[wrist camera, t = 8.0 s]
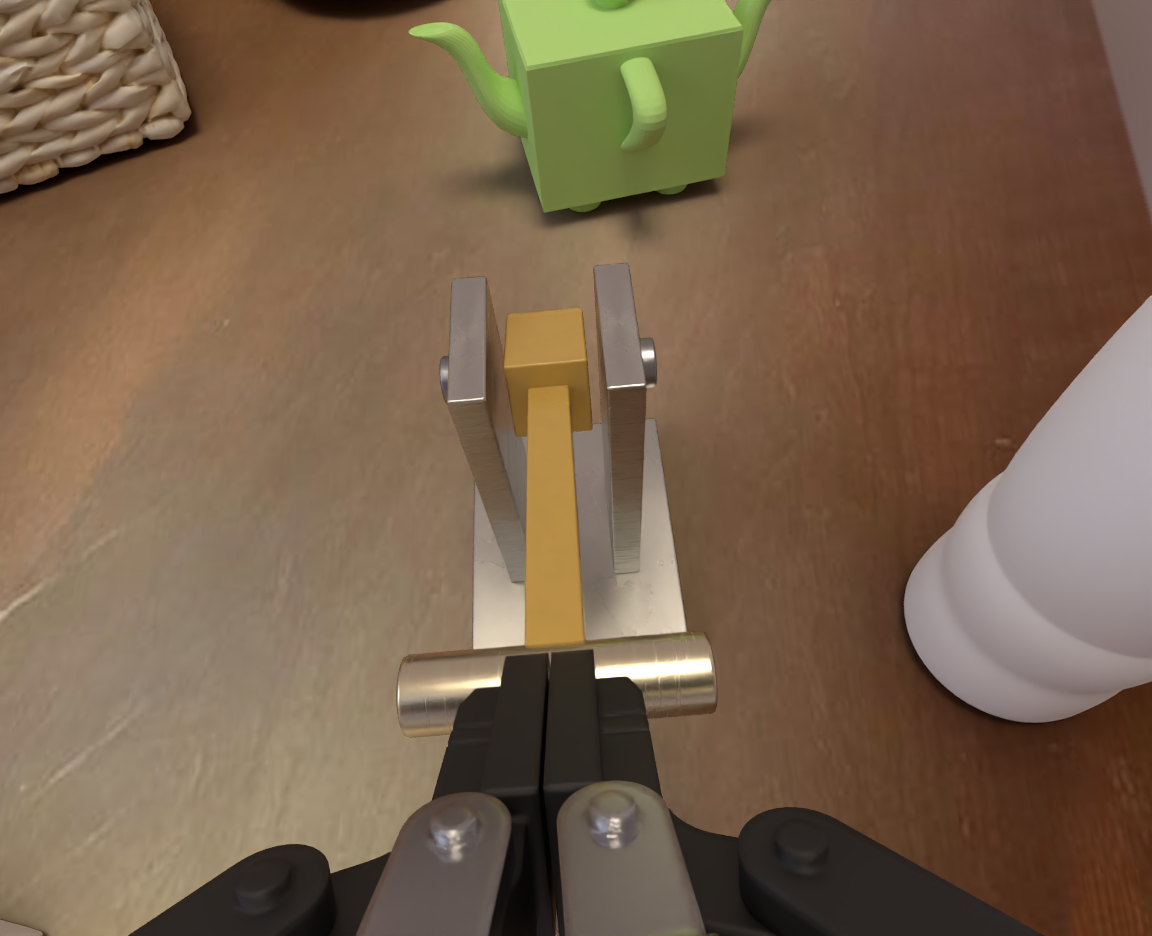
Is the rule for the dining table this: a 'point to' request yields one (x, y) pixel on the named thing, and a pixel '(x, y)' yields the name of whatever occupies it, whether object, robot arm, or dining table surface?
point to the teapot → (612, 90)
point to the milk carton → (17, 930)
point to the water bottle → (1053, 555)
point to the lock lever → (555, 553)
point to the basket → (82, 84)
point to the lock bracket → (602, 466)
